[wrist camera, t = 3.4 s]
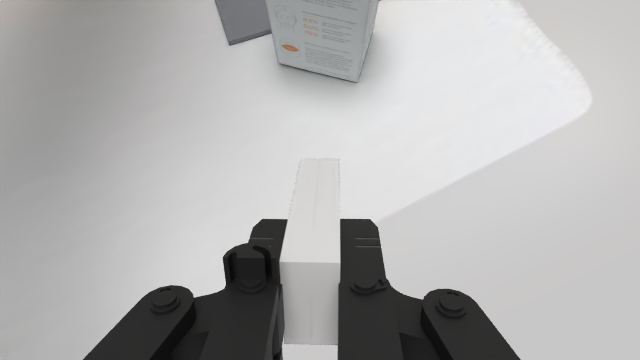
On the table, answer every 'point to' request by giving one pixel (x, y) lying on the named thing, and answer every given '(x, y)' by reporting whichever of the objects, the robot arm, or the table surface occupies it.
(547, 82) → the table surface
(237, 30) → the grey rubber mat
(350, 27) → the small box
